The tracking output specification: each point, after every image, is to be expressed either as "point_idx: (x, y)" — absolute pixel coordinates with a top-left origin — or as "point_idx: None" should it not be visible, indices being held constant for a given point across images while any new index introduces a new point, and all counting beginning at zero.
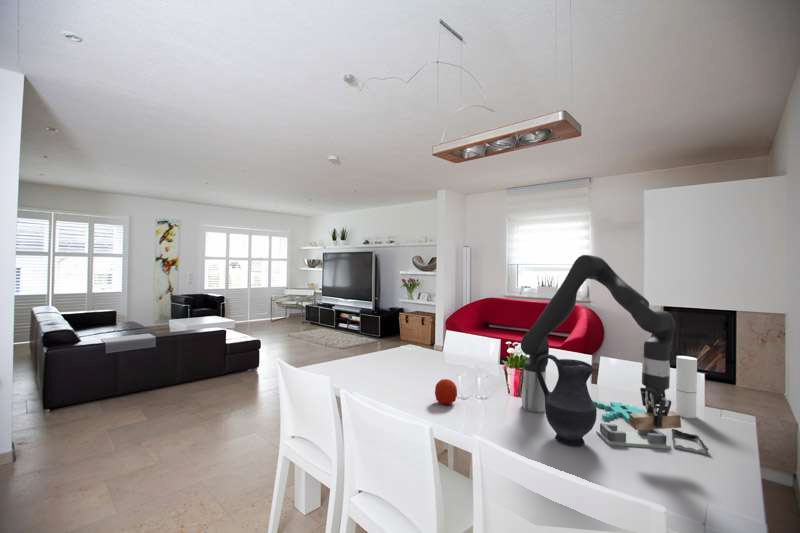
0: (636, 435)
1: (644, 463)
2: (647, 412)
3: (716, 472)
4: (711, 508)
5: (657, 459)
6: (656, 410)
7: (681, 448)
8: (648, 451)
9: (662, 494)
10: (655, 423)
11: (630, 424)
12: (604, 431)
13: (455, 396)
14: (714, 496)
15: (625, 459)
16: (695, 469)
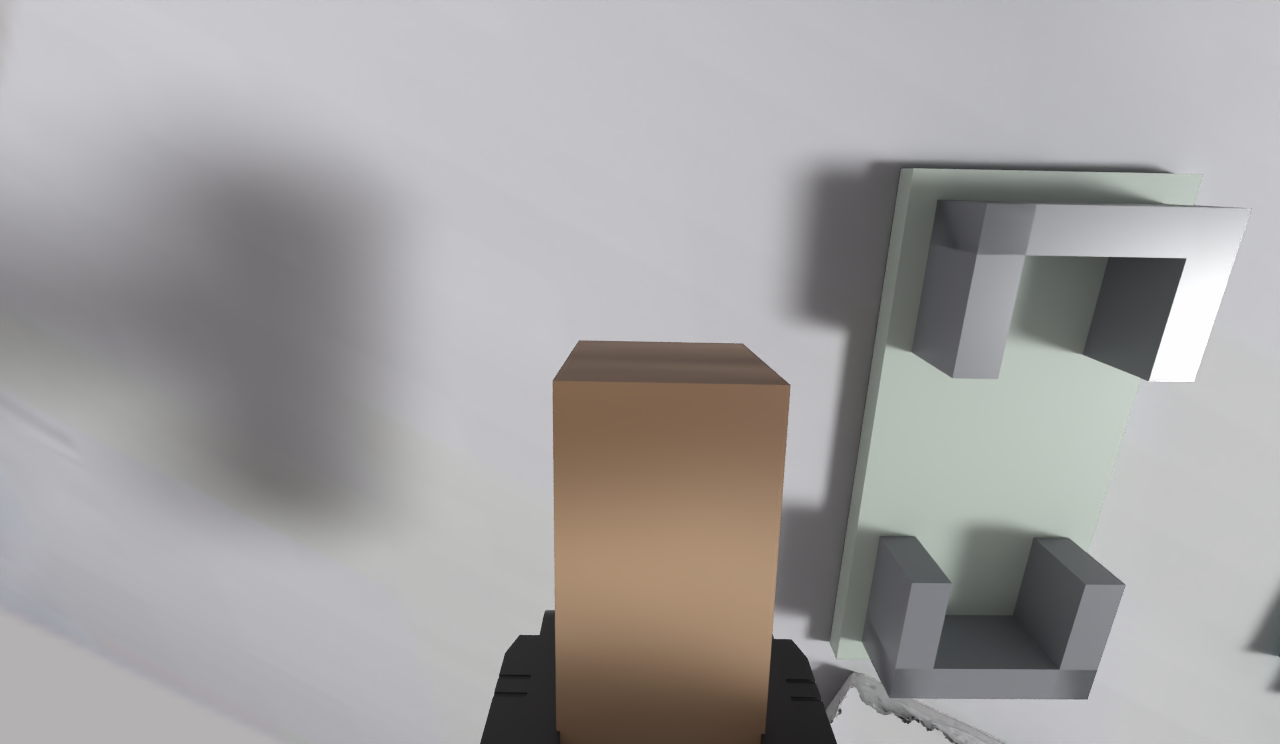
0: (1034, 509)
1: (564, 324)
2: (777, 731)
3: None
4: (16, 433)
5: None
6: None
7: (830, 706)
8: None
9: (73, 196)
10: (541, 651)
11: (731, 346)
12: (1091, 203)
13: None
14: (189, 536)
15: (613, 192)
16: (536, 625)
